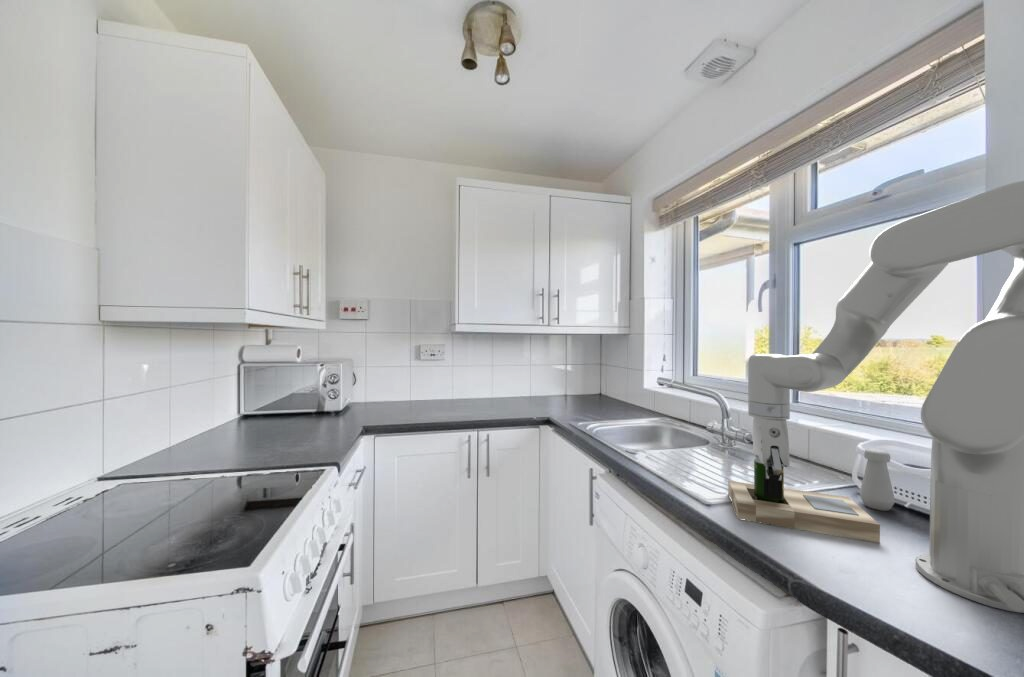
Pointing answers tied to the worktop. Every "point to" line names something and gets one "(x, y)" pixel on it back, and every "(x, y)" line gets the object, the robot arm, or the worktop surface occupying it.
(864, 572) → the worktop surface
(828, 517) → the can block
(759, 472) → the beer can
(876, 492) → the salt shaker
